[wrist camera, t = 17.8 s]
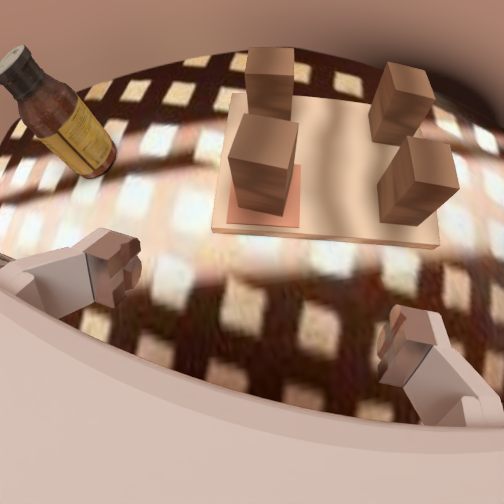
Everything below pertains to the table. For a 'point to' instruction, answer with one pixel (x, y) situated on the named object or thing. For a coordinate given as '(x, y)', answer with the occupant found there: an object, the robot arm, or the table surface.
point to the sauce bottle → (57, 115)
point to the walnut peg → (263, 163)
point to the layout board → (344, 160)
